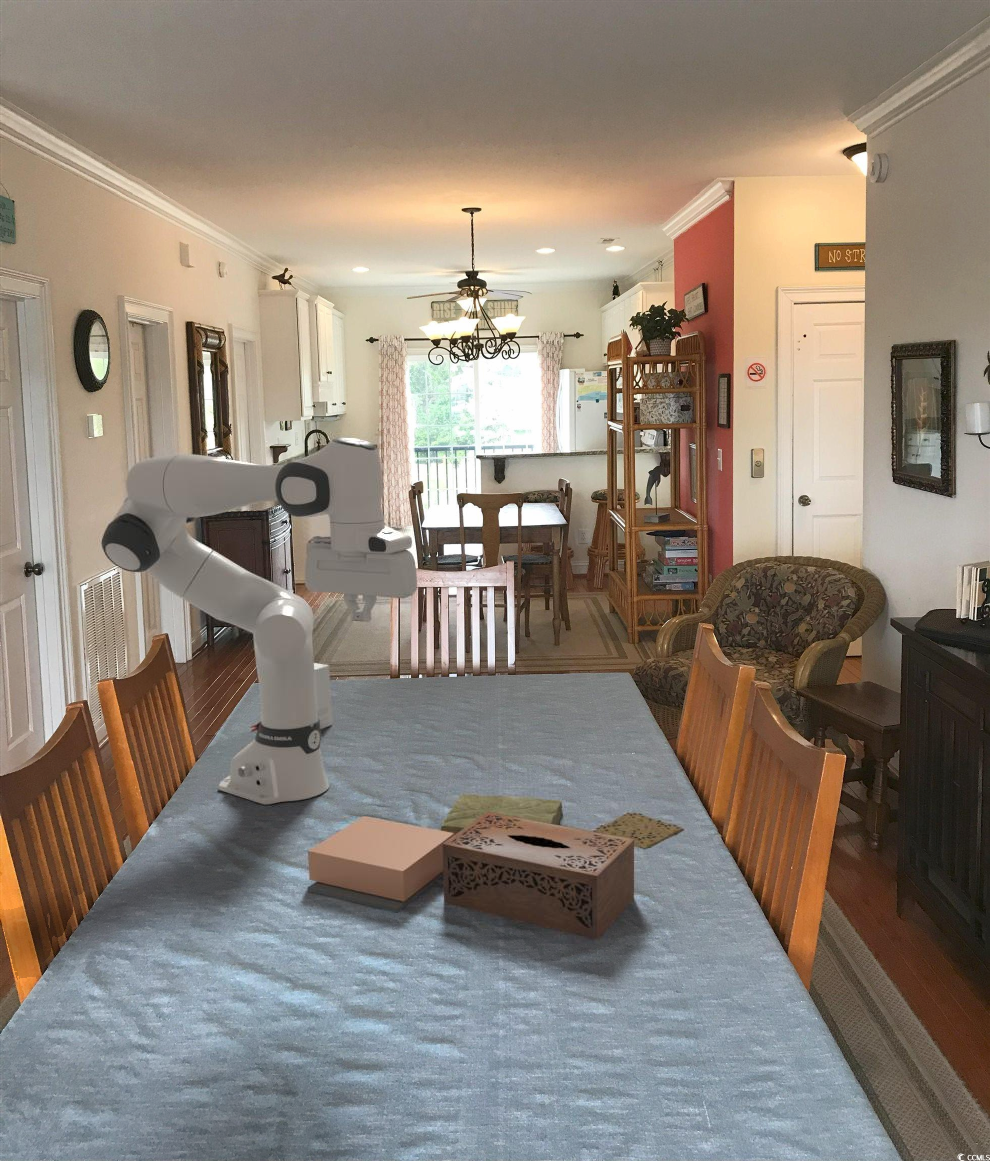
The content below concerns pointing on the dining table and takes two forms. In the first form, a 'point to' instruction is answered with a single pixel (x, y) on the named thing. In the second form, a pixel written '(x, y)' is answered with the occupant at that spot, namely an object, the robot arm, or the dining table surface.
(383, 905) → the slate mat
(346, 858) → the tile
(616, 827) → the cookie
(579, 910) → the tissue box cover
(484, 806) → the decorative tile
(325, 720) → the supplement box
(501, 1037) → the dining table surface
